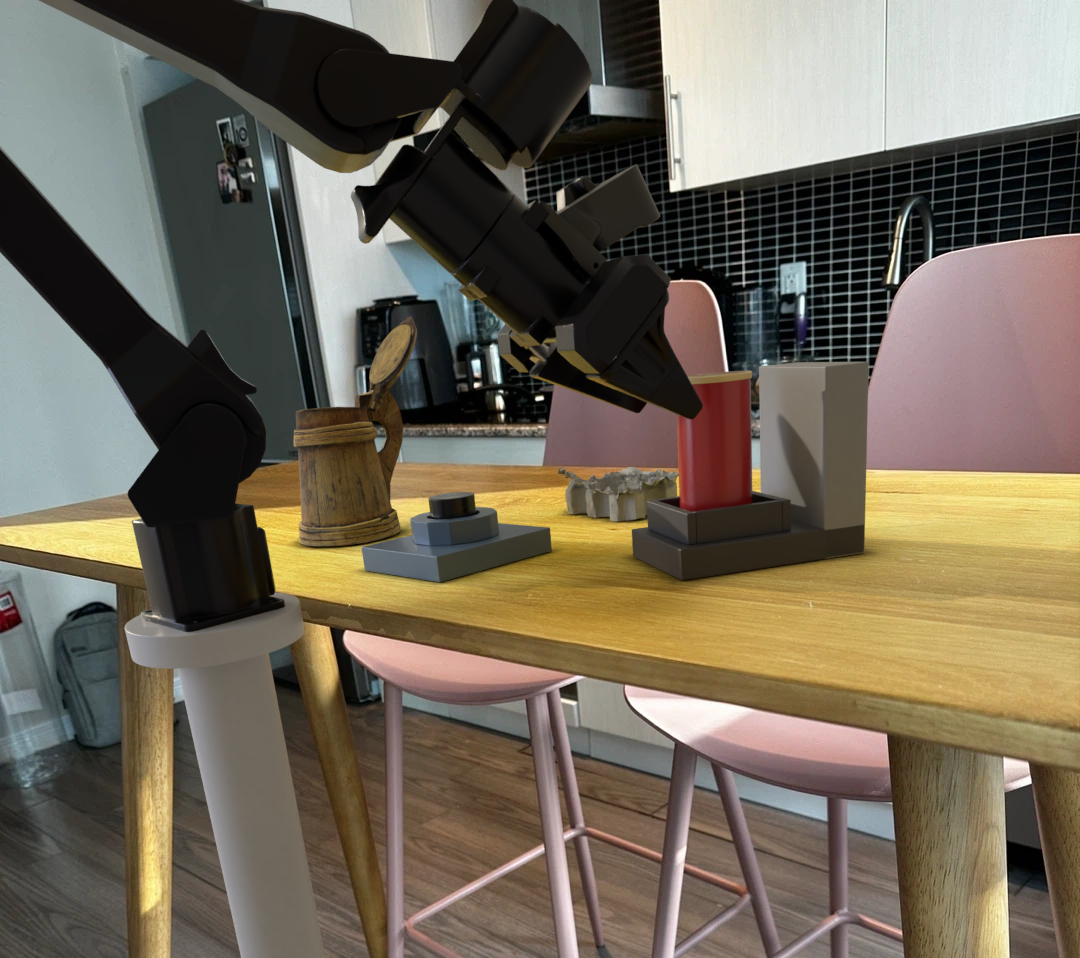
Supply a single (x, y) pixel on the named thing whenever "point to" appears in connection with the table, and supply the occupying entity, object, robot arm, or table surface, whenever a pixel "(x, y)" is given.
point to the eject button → (452, 505)
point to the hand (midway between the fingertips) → (668, 410)
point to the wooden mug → (353, 456)
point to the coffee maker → (780, 483)
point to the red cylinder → (717, 443)
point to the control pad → (455, 546)
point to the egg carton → (618, 493)
